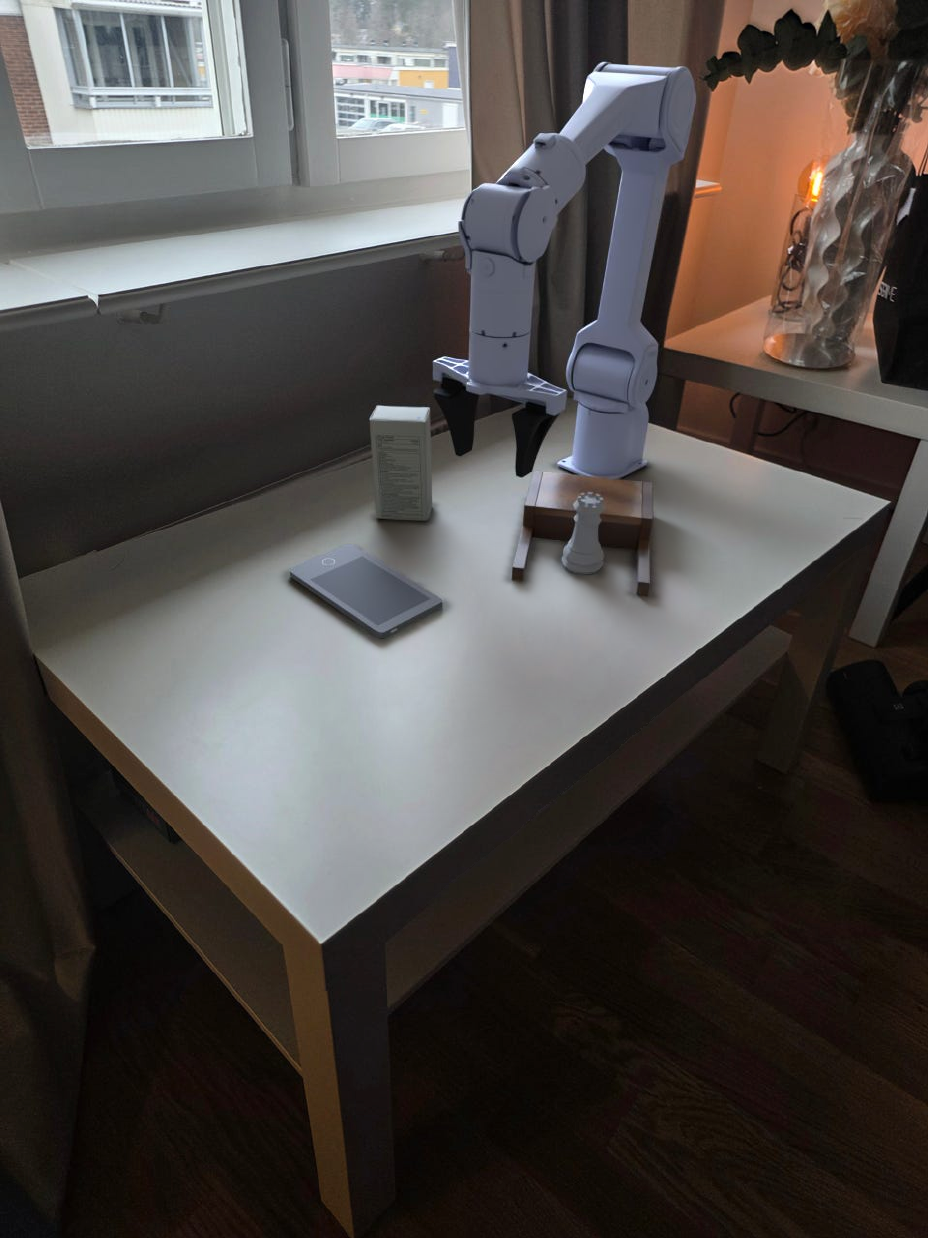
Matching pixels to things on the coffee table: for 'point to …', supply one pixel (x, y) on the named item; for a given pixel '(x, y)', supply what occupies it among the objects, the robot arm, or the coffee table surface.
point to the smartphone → (366, 590)
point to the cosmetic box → (402, 462)
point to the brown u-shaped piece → (620, 520)
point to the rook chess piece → (585, 536)
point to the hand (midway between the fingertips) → (493, 462)
